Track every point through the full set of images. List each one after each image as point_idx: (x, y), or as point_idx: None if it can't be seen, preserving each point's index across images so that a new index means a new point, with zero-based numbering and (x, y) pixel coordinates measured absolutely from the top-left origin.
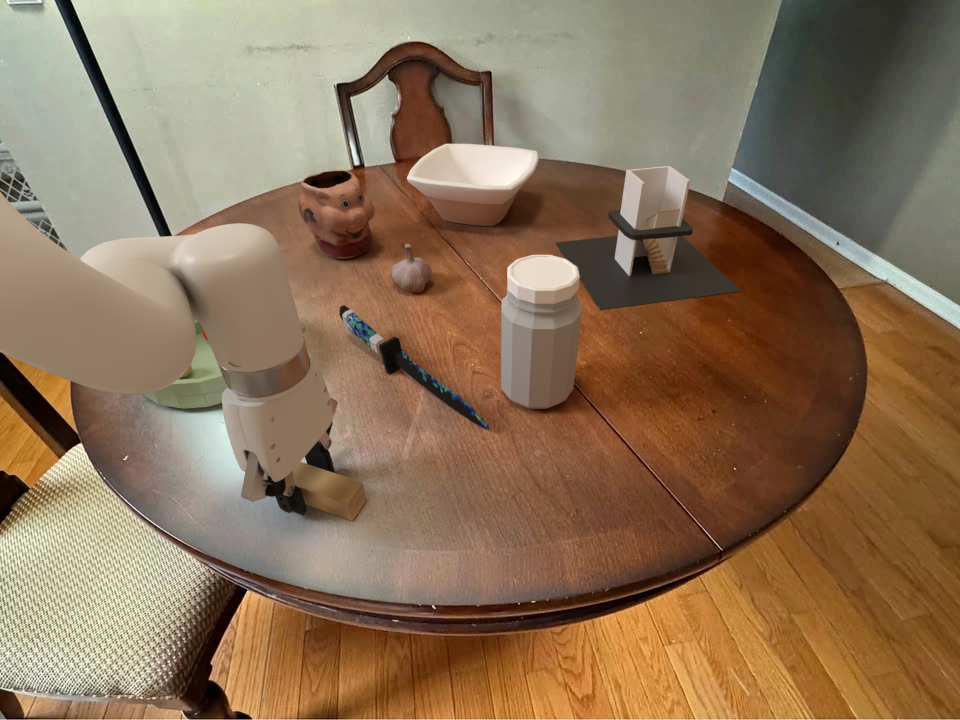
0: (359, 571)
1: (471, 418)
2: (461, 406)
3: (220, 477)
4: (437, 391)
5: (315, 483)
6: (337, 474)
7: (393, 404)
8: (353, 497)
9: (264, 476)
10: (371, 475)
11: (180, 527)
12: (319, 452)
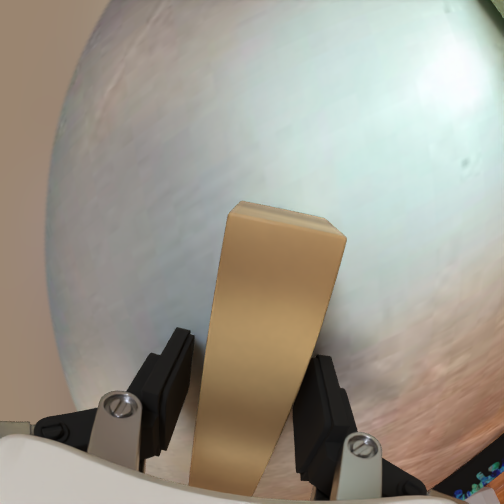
0: None
1: None
2: None
3: (256, 73)
4: (485, 462)
5: (220, 445)
6: (261, 472)
7: (493, 404)
8: None
9: (91, 438)
10: None
11: (83, 85)
12: (310, 465)
